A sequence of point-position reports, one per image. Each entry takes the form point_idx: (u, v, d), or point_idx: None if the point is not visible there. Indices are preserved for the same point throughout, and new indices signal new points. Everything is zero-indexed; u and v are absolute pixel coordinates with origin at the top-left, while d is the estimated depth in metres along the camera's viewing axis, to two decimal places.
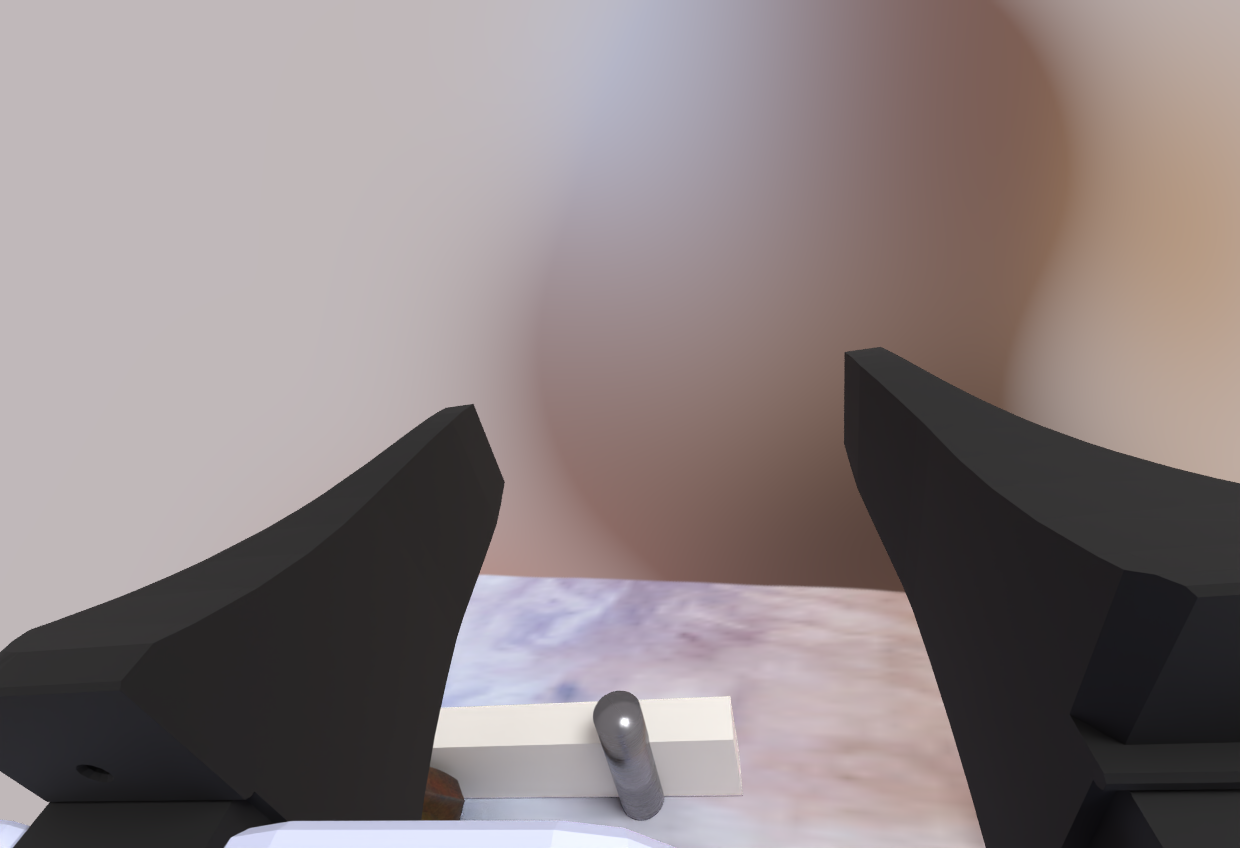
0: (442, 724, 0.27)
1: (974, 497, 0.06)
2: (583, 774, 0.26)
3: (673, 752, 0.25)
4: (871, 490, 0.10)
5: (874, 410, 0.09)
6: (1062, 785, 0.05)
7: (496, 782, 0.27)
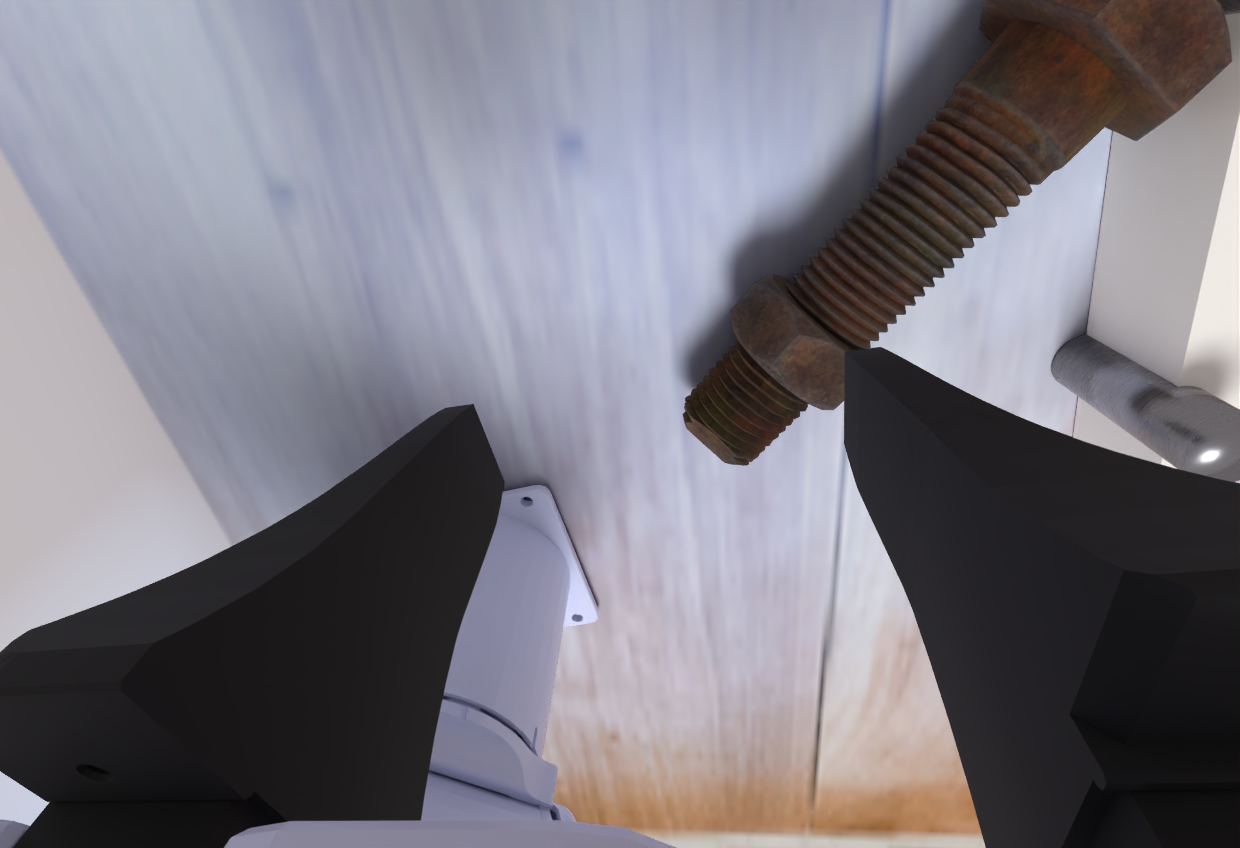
0: None
1: (974, 497, 0.06)
2: (1129, 314, 0.18)
3: (1141, 455, 0.18)
4: (871, 490, 0.10)
5: (874, 410, 0.09)
6: (1062, 785, 0.05)
7: (1141, 162, 0.16)
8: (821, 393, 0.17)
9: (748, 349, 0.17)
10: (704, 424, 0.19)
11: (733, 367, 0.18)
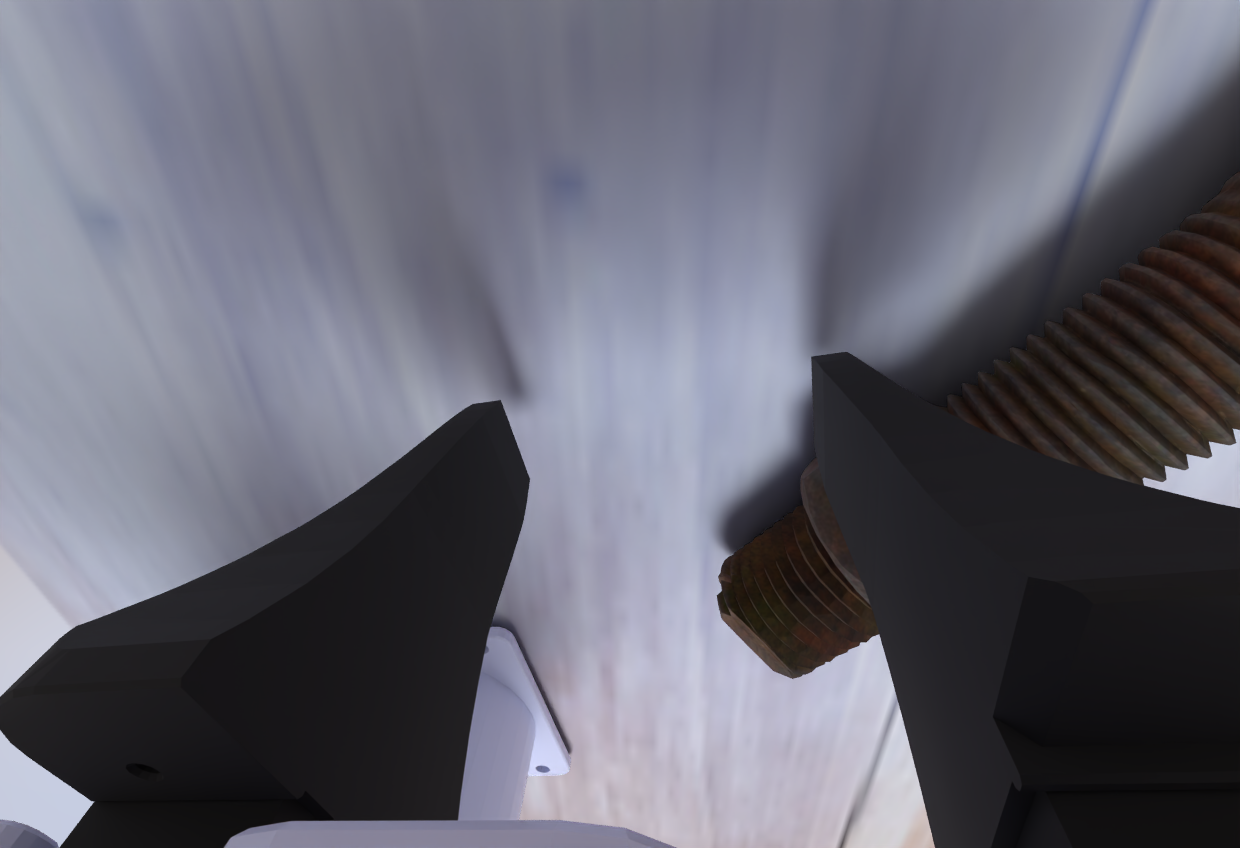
0: None
1: (915, 503, 0.06)
2: None
3: None
4: (836, 493, 0.10)
5: (836, 415, 0.09)
6: (989, 786, 0.05)
7: None
8: None
9: (831, 552, 0.11)
10: (749, 625, 0.13)
11: (799, 553, 0.12)
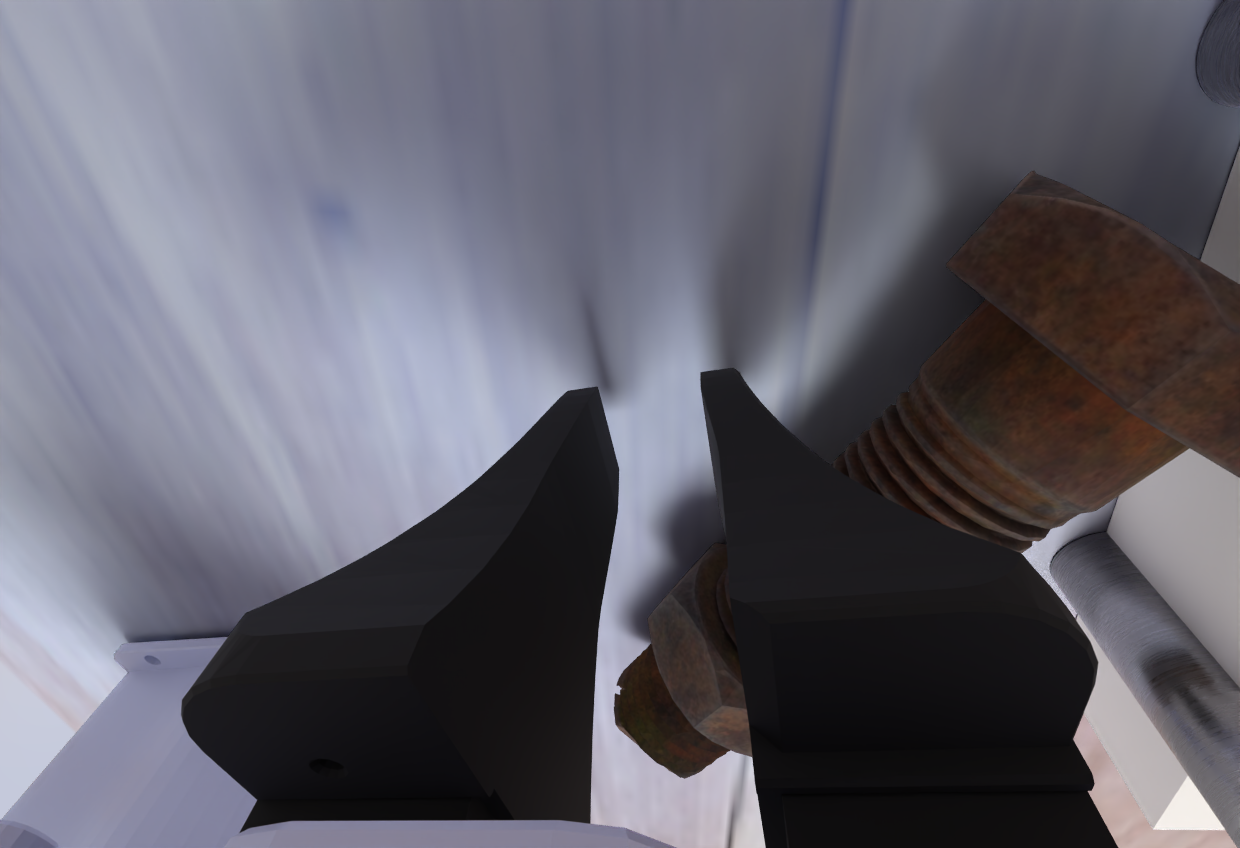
0: None
1: None
2: (1178, 545, 0.11)
3: None
4: (720, 505, 0.10)
5: (709, 430, 0.09)
6: None
7: None
8: None
9: (667, 688, 0.13)
10: None
11: (661, 677, 0.14)
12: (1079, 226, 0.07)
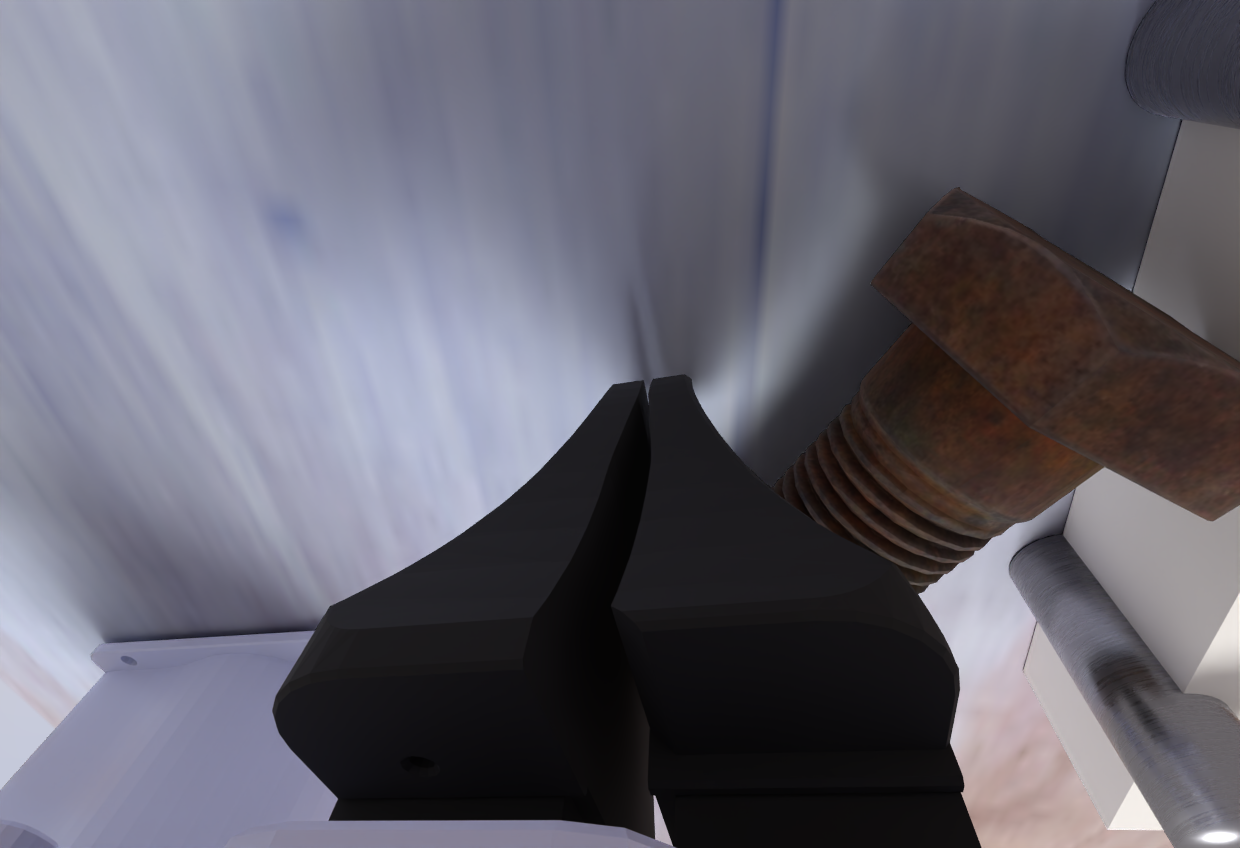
0: None
1: None
2: (1125, 548, 0.12)
3: None
4: None
5: None
6: None
7: None
8: None
9: None
10: None
11: None
12: (986, 246, 0.07)
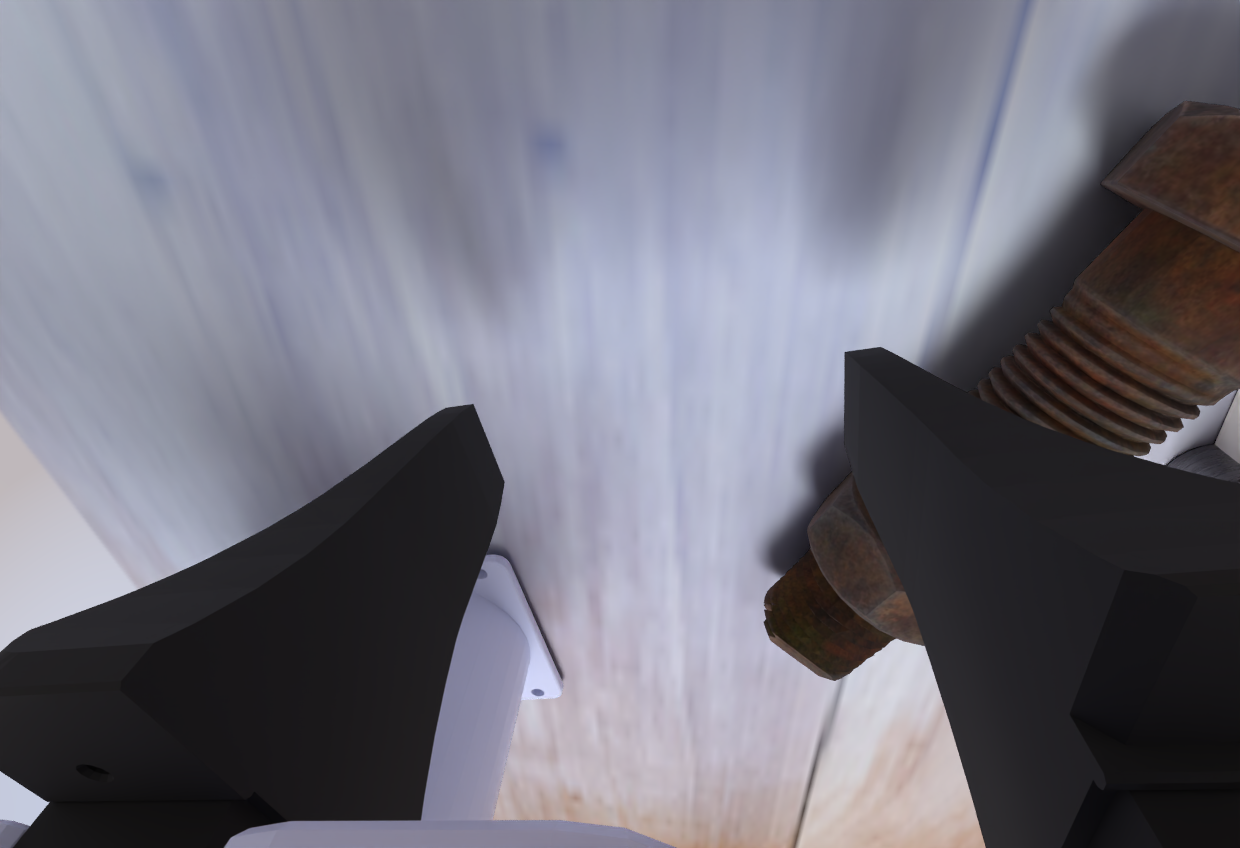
0: None
1: (974, 497, 0.06)
2: None
3: None
4: (871, 490, 0.10)
5: (874, 410, 0.09)
6: (1061, 785, 0.05)
7: None
8: None
9: (834, 587, 0.15)
10: (790, 644, 0.17)
11: (817, 585, 0.16)
12: None
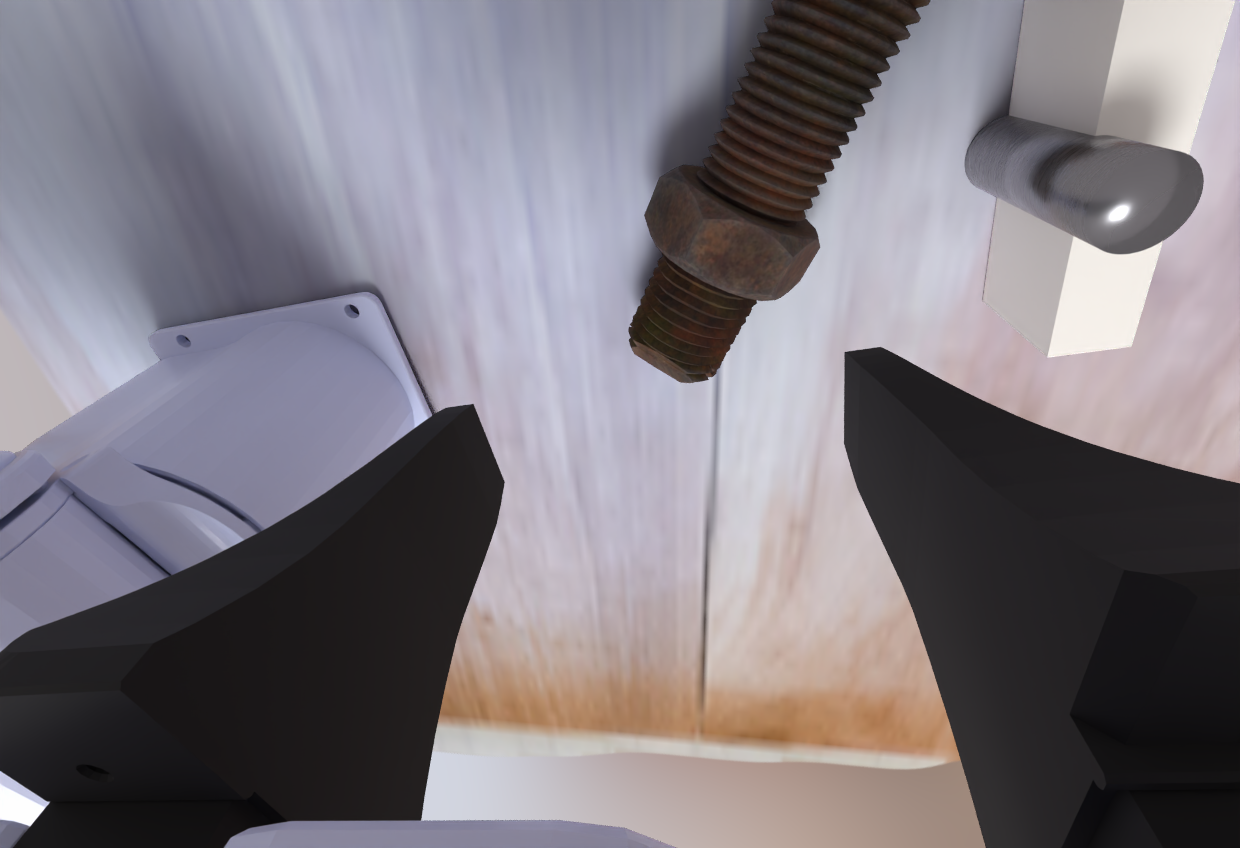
0: None
1: (974, 497, 0.06)
2: (1052, 59, 0.14)
3: (1050, 254, 0.15)
4: (871, 490, 0.10)
5: (874, 410, 0.09)
6: (1062, 785, 0.05)
7: None
8: (750, 281, 0.15)
9: (663, 251, 0.16)
10: (647, 345, 0.18)
11: (662, 276, 0.17)
12: None
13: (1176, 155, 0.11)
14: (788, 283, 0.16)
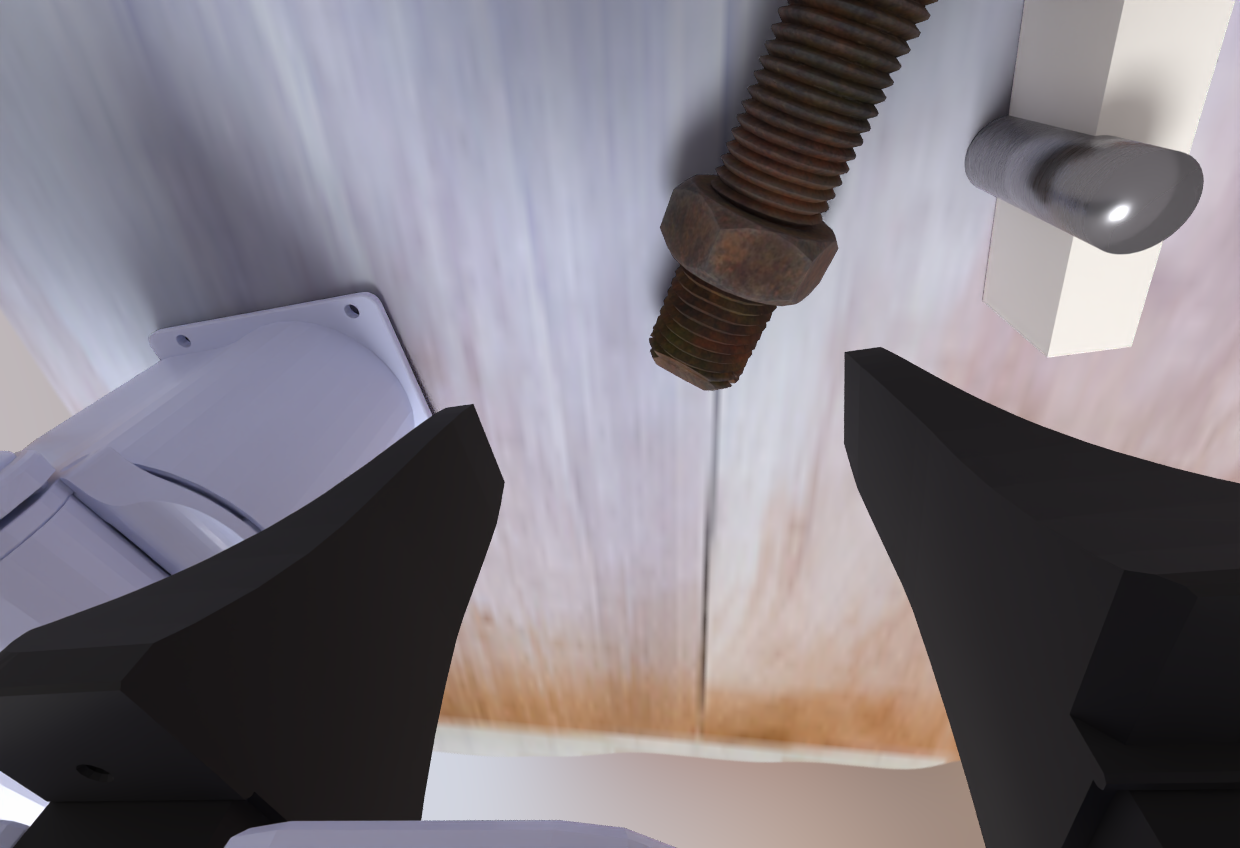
0: None
1: (974, 497, 0.06)
2: (1052, 59, 0.14)
3: (1050, 254, 0.15)
4: (871, 490, 0.10)
5: (874, 410, 0.09)
6: (1062, 785, 0.05)
7: None
8: (769, 287, 0.15)
9: (681, 262, 0.16)
10: (669, 355, 0.18)
11: (680, 286, 0.17)
12: None
13: (1176, 155, 0.11)
14: (808, 287, 0.16)
